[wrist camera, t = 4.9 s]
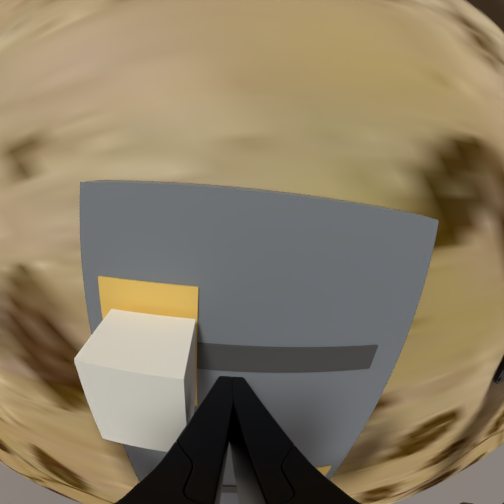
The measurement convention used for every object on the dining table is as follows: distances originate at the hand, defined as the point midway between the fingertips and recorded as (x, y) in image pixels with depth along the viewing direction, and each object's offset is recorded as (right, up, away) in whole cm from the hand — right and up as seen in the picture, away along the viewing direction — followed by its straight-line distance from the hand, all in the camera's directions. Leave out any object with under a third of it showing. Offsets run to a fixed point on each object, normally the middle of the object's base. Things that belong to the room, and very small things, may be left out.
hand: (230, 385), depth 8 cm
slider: (-3, +1, +1) cm, 3 cm away
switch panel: (0, -5, +5) cm, 7 cm away
